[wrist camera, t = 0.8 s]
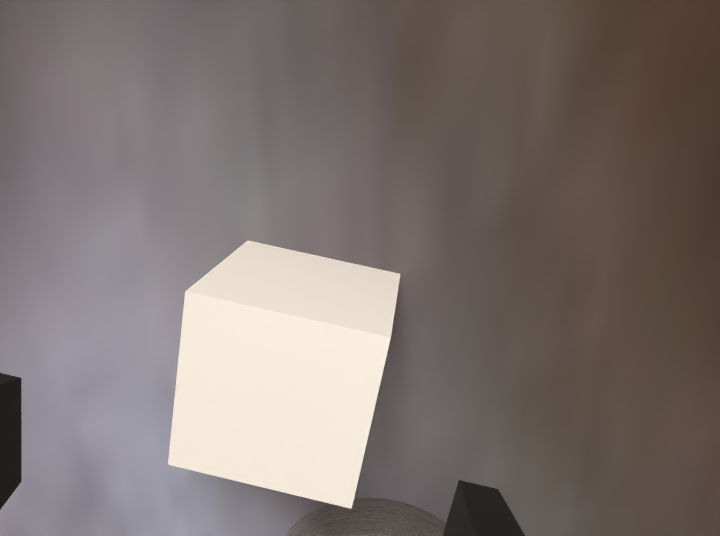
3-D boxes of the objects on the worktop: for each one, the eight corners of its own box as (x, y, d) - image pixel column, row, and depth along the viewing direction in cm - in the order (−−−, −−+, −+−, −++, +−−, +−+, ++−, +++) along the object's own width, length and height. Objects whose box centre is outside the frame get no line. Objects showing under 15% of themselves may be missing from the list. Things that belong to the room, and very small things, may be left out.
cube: (400, 273, 14) (391, 337, 11) (370, 407, 16) (351, 508, 12) (248, 239, 15) (185, 291, 11) (230, 375, 16) (168, 464, 12)
